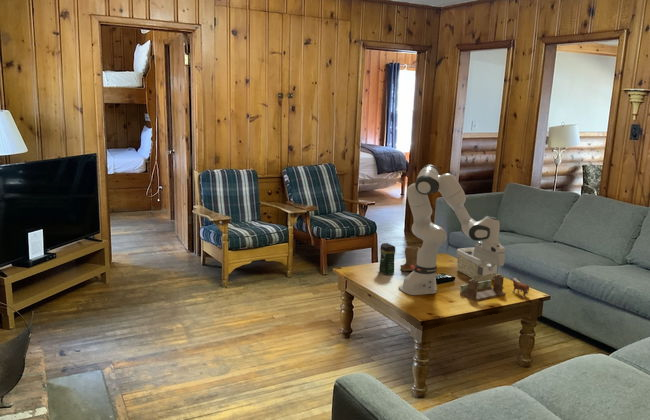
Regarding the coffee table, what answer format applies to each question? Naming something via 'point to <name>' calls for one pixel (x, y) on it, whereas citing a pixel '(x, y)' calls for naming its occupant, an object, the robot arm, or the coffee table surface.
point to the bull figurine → (520, 286)
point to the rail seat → (483, 289)
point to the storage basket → (471, 265)
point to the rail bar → (486, 269)
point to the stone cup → (410, 258)
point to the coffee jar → (387, 258)
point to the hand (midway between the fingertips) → (487, 269)
